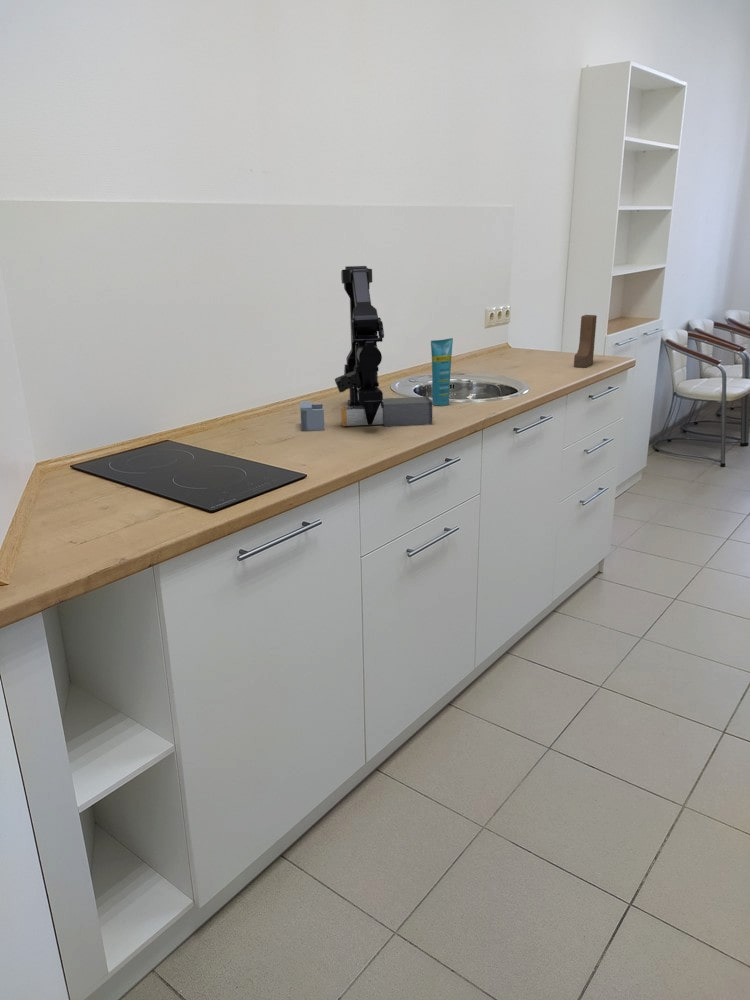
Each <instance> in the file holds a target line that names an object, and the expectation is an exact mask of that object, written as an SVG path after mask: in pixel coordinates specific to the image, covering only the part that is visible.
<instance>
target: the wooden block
mask: <svg viewBox="0 0 750 1000" xmlns="http://www.w3.org/2000/svg"><path fill="white" fill-rule="evenodd" d="M597 317H598V316H597V314H596V315H595V314H584V315H582V316H580V329H579V330H580V332H579V343H578V349H577V352H576V353H575V354H574V357H573V358H574V360H573V367H574V368H580V369H581V368H582V369H586V368H587V367H589V366H592V365H593V363H594V350H595V344H596V343H595V342H596V341H595V340H596V330H597V329H596V328H597Z"/></svg>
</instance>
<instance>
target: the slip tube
mask: <svg viewBox="0 0 750 1000" xmlns="http://www.w3.org/2000/svg"><path fill="white" fill-rule="evenodd" d="M340 419H341V421H340V422H341V426H342V427H352V426H371V425H373V426H375V425H384V407H383V405H381V404H380V406H379V408H378V410H377V413H376V415H375V418H374V420H373V423H372V424H370V425H368V423H367V418H366V414H365V409H364V406H362V405H356V406H349V405H348V406H346V405H342V406H340Z"/></svg>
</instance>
